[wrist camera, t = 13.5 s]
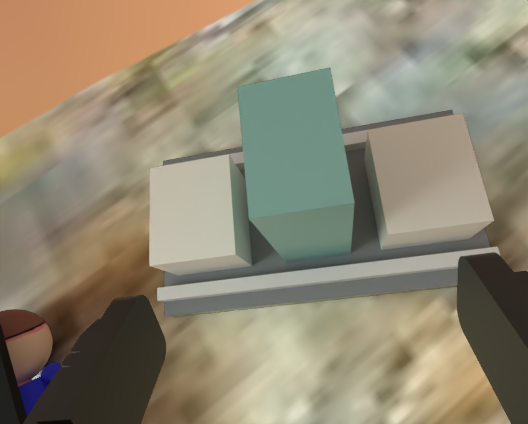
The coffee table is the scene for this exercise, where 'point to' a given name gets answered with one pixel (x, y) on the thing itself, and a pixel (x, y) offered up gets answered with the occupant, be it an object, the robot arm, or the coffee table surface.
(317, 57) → the coffee table surface
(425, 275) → the rail board
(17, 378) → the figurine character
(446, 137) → the mounted blocks
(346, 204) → the block
